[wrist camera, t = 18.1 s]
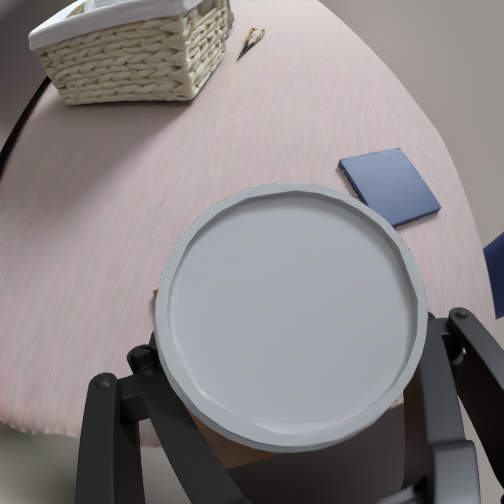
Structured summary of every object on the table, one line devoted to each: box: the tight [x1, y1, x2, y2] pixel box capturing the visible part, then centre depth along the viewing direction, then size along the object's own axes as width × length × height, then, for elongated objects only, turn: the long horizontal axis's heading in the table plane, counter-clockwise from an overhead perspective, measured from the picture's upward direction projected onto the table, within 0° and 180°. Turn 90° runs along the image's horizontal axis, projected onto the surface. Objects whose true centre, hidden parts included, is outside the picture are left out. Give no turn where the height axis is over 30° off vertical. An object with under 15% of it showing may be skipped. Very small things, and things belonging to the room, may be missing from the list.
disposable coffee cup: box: [154, 182, 428, 453], centre depth 14 cm, size 10×10×12 cm
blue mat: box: [339, 148, 441, 227], centre depth 26 cm, size 8×8×1 cm
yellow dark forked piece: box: [238, 28, 265, 59], centre depth 38 cm, size 12×3×1 cm, turn 162°
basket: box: [28, 0, 227, 105], centre depth 28 cm, size 24×16×15 cm
